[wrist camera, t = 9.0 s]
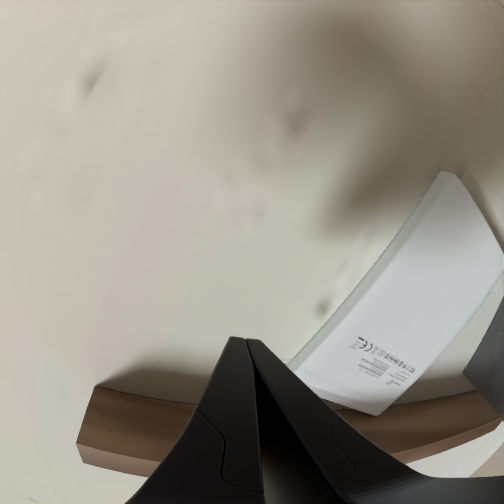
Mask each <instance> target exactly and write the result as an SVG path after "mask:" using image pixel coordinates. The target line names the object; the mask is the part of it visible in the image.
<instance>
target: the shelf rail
mask: <svg viewBox="0 0 504 504" xmlns="http://www.w3.org/2000/svg"><path fill="white" fill-rule="evenodd" d="M195 407H196V405H192V404H184V403H177V402H170V401H164V400H158V399H152V398H147V397H141V396H136V395H131V394H126V393H122V392H117V391H113V390H108V389H104V388H100V387H96V386H95V387H94V390H93V393H92V396H91V398H90V401H89V404H88V407H87V410H86V413H85V416H84V419H83V422H82V425H81V429H80V432H79V435H78V438H77V441H76V445H77V448H78V450H79V453H80V456H81V458H82V461H83V463H86V464H90V465H94V466H97V467H101V468H105V469H109V470H114V471H118V472H123V473H127V474H132V475H138V476H143V477H150V475H151V474H152V473H153V472H154V470H155V469H156V468H157V467H158V465H159V464H160V463H161V461H162V460H163V459H164V458H165V456H166V455H167V454H168V453H169V451H170V450H171V448H172V447H173V445H174V444H175V443H176V441H177V440H178V438H179V437H180V435H181V434H182V432H183V430H184V428H185V426H186V425H187V423H188V421H189V419H190V417H191V415H192V413H193V411H194V410H195ZM334 411H335V412H336V413H337V415H340V416H341V417H342V418H343V419H344V420H345V421H347V422H348V423H349V424H350V425H351V426H352V427H354V428H355V429H356V430H357V431H358V432H360V433H361V434H362V435H363V436H365V437H366V438H367V439H369V440H370V441H372V442H373V443H374V444H376V445H377V446H378V447H380V448H381V449H383V450H384V451H386V452H387V453H389V454H390V455H392V456H393V457H395V458H396V459H398V460H399V461H401V462H402V463H404V464H406V463H410V462H413V461H416V460H420V459H423V458H426V457H429V456H432V455H435V454H438V453H441V452H443V451H446V450H449V449H452V448H454V447H457V446H459V445H462V444H464V443H467V442H469V441H471V440H474V439H476V438H478V437H481V436H483V435H485V434H487V433H489V432H491V431H493V430H495V429H496V428H497V426H498V425H499V424H500V423H501V422H502V419H501V418H500V416H499V415H498V414H497V413H496V411H495V410H494V409H493V408H492V407H491V405H490V404H489V403H488V402H487V401H486V399H485V398H484V397H483V396H482V395H481V394H480V392H479V391H478V390H476V391H472V392H468V393H463V394H459V395H454V396H449V397H444V398H439V399H433V400H428V401H422V402H415V403H408V404H401V405H393V406H389V407H388V408H387V409H386V410H384V411H383V412H382V413H381V414H380V415H378V416H374V415H371V414H368V413H365V412H362V411H358V410H355V409H350V410H334Z"/></svg>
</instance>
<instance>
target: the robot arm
mask: <svg viewBox="0 0 504 504" xmlns="http://www.w3.org/2000/svg"><path fill="white" fill-rule="evenodd" d="M125 504H504V476H494V477H476V478H436V477H430V476H427V475H423V474H421V473H419V472H417V471H415V470H413V469H411V468H410V467H408V466H407V465H405V464H404V463H402V462H401V461H399V460H398V459H396V458H395V457H393V456H392V455H390V454H389V453H387V452H386V451H384V450H383V449H381V448H380V447H378V446H377V445H376V444H374V443H373V442H372V441H370V440H369V439H367V438H366V437H365V436H363V435H362V434H361V433H360V432H358V431H357V430H356V429H355V428H354V427H352V426H351V425H350V424H349V423H348V422H347V421H345V420H344V419H343V418H342V417H341V416H340V415H337V413H336V412H335V411H334V410H333V409H332V408H331V407H330V406H329V405H328V404H326V403H325V402H324V401H323V400H322V399H321V398H320V397H319V396H318V395H317V394H316V393H315V392H313V391H312V390H311V389H310V388H309V387H308V386H307V385H306V384H305V383H304V382H303V381H302V380H301V379H300V378H299V377H298V376H297V375H295V374H294V373H293V372H292V371H291V370H290V369H289V368H288V367H287V366H286V365H285V364H284V363H283V362H282V361H281V360H280V359H279V358H278V357H277V356H276V355H275V354H274V353H273V352H272V351H271V350H270V349H269V348H268V347H267V346H266V345H265V344H264V343H263V342H262V341H260V340H258V339H249V338H247V339H244V338H240V337H233V336H231V337H229V339H228V341H227V343H226V345H225V348H224V350H223V352H222V354H221V356H220V358H219V360H218V362H217V364H216V366H215V368H214V370H213V372H212V375H211V377H210V379H209V381H208V383H207V385H206V387H205V389H204V391H203V393H202V395H201V397H200V399H199V401H198V403H197V405H196V407H195V410H194V411H193V413H192V415H191V417H190V419H189V421H188V423H187V425H186V426H185V428H184V430H183V432H182V434H181V435H180V437H179V438H178V440H177V441H176V443H175V444H174V445H173V447H172V448H171V450H170V451H169V453H168V454H167V455H166V456H165V458H164V459H163V460H162V461H161V463H160V464H159V465H158V467H157V468H156V469H155V470H154V472H153V473H152V474H151V475H150V477H149V478H148V479H147V480H146V482H145V483H144V484H143V485H142V486H141V488H140V489H139V490H138V491H137V492H136V493H135V494H134V495H133V496H132V497H131V498H130V499H129V500H128V501H127V502H126V503H125Z"/></svg>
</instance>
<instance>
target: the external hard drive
mask: <svg viewBox="0 0 504 504" xmlns="http://www.w3.org/2000/svg"><path fill="white" fill-rule="evenodd" d="M503 271H504V253H503V251H502V249H501V247H500V245H499V243H498V241H497V239H496V238H495V236H494V234H493V232H492V230H491V228H490V227H489V225H488V223H487V222H486V219H485V218H484V216H483V214H482V213H481V211H480V209H479V208H478V206H477V204H476V203H475V201H474V200H473V198H472V196H471V195H470V193H469V192H468V190H467V189H466V187H465V186H464V184H463V183H462V182H461V180H460V179H459V178H458V177H457V175H456V174H454V173H451V172H447V171H444V170H440V171H439V172H438V174H437V175H436V177H435V179H434V180H433V182H432V183H431V185H430V186H429V188H428V189H427V191H426V192H425V194H424V195H423V197H422V198H421V200H420V201H419V203H418V204H417V206H416V207H415V209H414V210H413V212H412V213H411V214H410V216H409V217H408V219H407V220H406V222H405V223H404V224H403V226H402V227H401V229H400V230H399V231H398V233H397V234H396V236H395V237H394V238H393V240H392V241H391V242H390V244H389V245H388V246H387V248H386V249H385V250H384V252H383V253H382V254H381V255H380V257H379V258H378V259H377V261H376V262H375V263H374V265H373V266H372V267H371V268H370V270H369V271H368V272H367V273H366V275H365V276H364V277H363V278H362V280H361V281H360V282H359V283H358V285H357V286H356V287H355V288H354V290H353V291H352V292H351V293H350V294H349V295H348V297H347V298H346V299H345V300H344V302H343V303H342V304H341V305H340V306H339V307H338V308H337V310H336V311H335V312H334V313H333V314H332V315H331V317H330V318H329V319H328V320H327V321H326V322H325V324H324V325H323V326H322V327H321V328H320V329H319V330H318V331H317V333H316V334H315V335H314V336H313V337H312V338H311V339H310V340H309V341H308V342H307V344H306V345H305V346H304V347H303V348H302V349H301V350H300V351H299V352H298V353H297V354H296V355H295V356H294V357H293V358H292V359H291V360H290V361H289V362H288V363H287V365H286V366H287V367H288V368H289V369H290V370H291V371H292V372H293V373H294V374H295V375H297V376H298V377H299V378H300V379H301V380H302V381H303V382H304V383H305V384H306V385H307V386H308V387H309V388H310V389H311V390H312V391H313V392H315V393H316V394H317V395H318V396H319V397H320V398H323V399H326V400H329V401H332V402H334V403H337V404H340V405H343V406H346V407H349V408H352V409H355V410H358V411H362V412H365V413H368V414H371V415H374V416H378V415H380V414H381V413H382V412H383V411H384V410H386V409H387V408H388V407H389V406H390V405H391V404H392V403H393V402H394V401H395V400H396V399H397V398H399V397H400V396H401V395H402V394H403V393H404V392H405V391H406V390H407V389H408V388H409V387H410V386H411V385H412V384H413V383H414V382H415V381H416V380H417V379H418V378H419V377H420V376H421V375H422V374H423V373H424V372H425V371H426V370H427V369H428V368H429V367H430V366H431V365H432V363H433V362H434V361H435V360H436V359H437V358H438V357H439V356H440V355H441V354H442V353H443V351H444V350H445V349H446V348H447V347H448V346H449V344H450V343H451V342H452V341H453V340H454V338H455V337H456V336H457V335H458V334H459V332H460V331H461V330H462V329H463V327H464V326H465V325H466V324H467V322H468V321H469V320H470V319H471V317H472V316H473V315H474V313H475V312H476V310H477V309H478V308H479V306H480V305H481V304H482V302H483V301H484V300H485V298H486V297H487V295H488V294H489V292H490V291H491V289H492V288H493V286H494V285H495V283H496V282H497V280H498V279H499V277H500V276H501V274H502V273H503Z"/></svg>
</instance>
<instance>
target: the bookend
mask: <svg viewBox="0 0 504 504" xmlns="http://www.w3.org/2000/svg"><path fill="white" fill-rule="evenodd" d="M463 374H464V375H465V376H466V377H467V379H468V380H469V381H470V382H471V383H472V384H473V385H474V387H475V388H476V389H477V390H478V391H479V392H480V394H481V395H482V396H483V397H484V398H485V399H486V401H487V402H488V403H489V404H490V405H491V407H492V408H493V409H494V410H495V411H496V413H497V414H498V415H499V416H500V418H501V419H502V420H503V421H504V298H503V300H502V302H501V304H500V306H499V308H498V311H497V313H496V315H495V317H494V319H493V321H492V323H491V325H490V327H489V329H488V330H487V332H486V334H485V336H484V338H483V340H482V342H481V343H480V345H479V347H478V349H477V350H476V352H475V354H474V355H473V357H472V359H471V360H470V362H469V364H468V365H467V367H466V369H465V370H464V372H463Z"/></svg>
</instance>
